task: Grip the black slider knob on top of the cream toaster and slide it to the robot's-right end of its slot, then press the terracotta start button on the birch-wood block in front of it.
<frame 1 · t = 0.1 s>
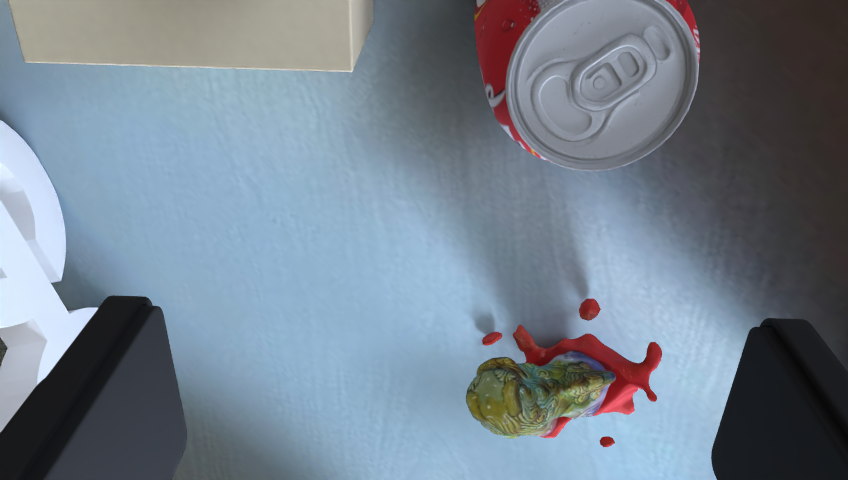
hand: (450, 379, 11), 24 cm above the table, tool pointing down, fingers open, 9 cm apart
letter: (80, 265, 39), on the table
soda can: (549, 5, 31), on the table
figurine: (547, 339, 41), on the table
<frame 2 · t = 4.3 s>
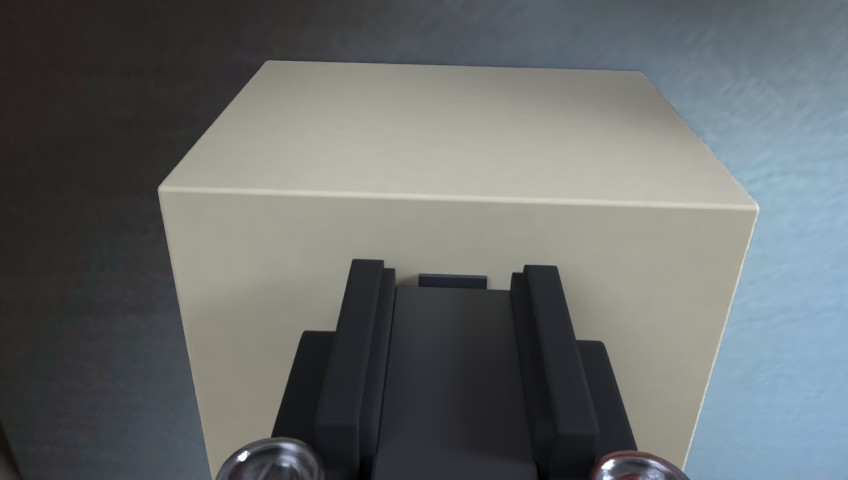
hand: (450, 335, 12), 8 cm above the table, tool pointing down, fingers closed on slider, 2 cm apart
toaster: (445, 258, 21), on the table
slider: (451, 443, 10), point 11 cm above the table, slide at 0.0 cm, touching gripper
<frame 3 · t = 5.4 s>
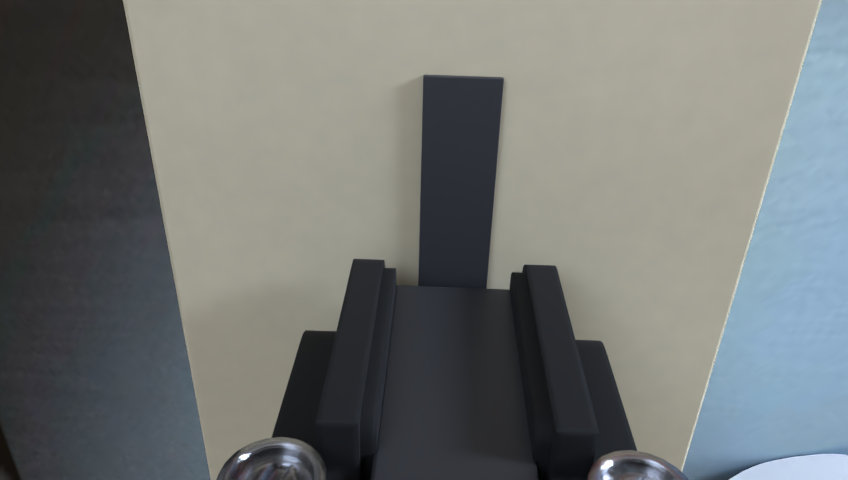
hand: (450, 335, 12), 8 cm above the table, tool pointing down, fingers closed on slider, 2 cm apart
toaster: (449, 151, 20), on the table
slider: (451, 443, 10), point 11 cm above the table, slide at 3.5 cm, touching gripper
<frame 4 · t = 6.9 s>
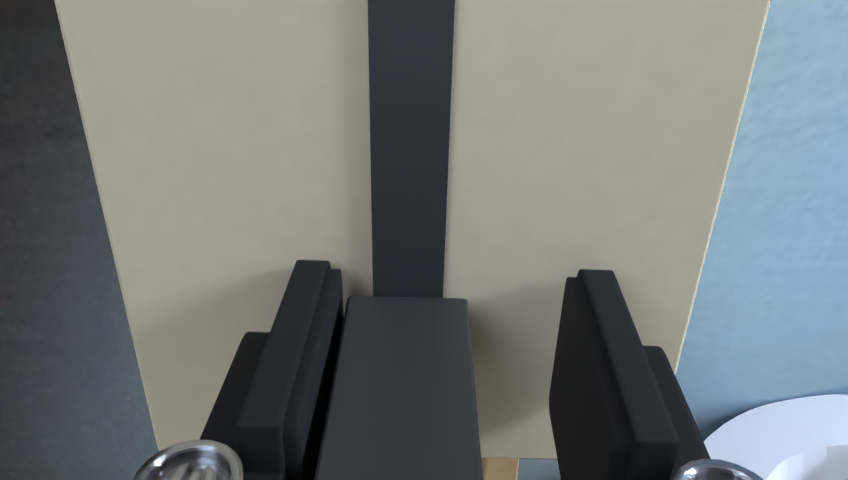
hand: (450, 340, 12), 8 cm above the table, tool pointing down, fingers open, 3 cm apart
toaster: (417, 57, 18), on the table
slider: (401, 458, 10), point 11 cm above the table, slide at 6.3 cm
button block: (382, 383, 23), on the table
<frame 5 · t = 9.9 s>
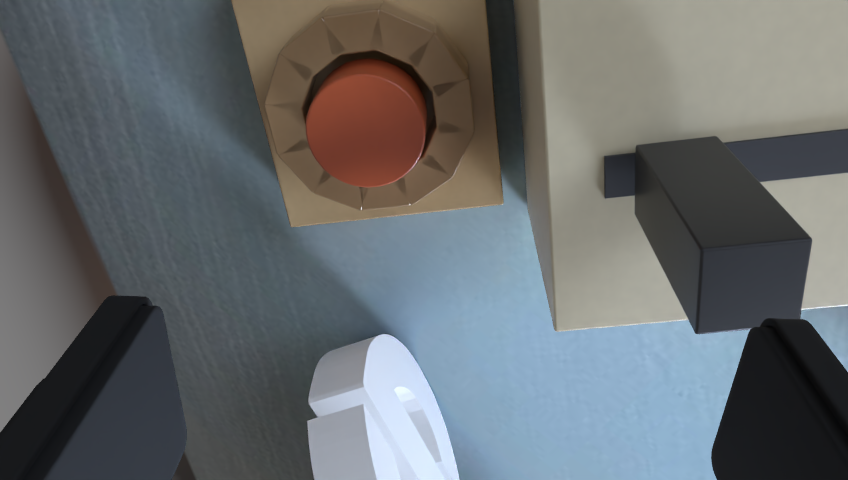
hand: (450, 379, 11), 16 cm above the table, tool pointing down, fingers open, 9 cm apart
toaster: (687, 69, 25), on the table
letter: (447, 460, 35), on the table
start button: (368, 123, 21), point 4 cm above the table, slide at 0.1 cm
slider: (707, 224, 15), point 11 cm above the table, slide at 6.3 cm
button block: (380, 80, 25), on the table
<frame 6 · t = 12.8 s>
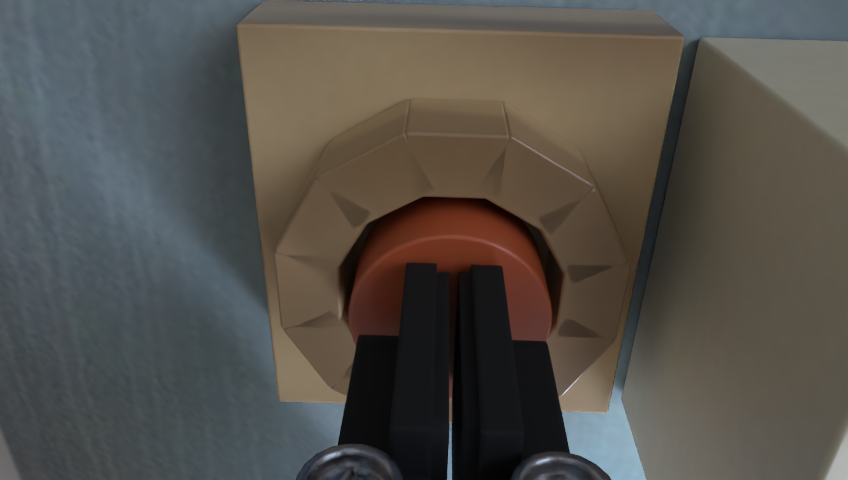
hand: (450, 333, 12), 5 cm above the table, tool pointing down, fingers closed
start button: (449, 296, 13), point 4 cm above the table, slide at -0.4 cm, touching gripper
button block: (449, 201, 16), on the table
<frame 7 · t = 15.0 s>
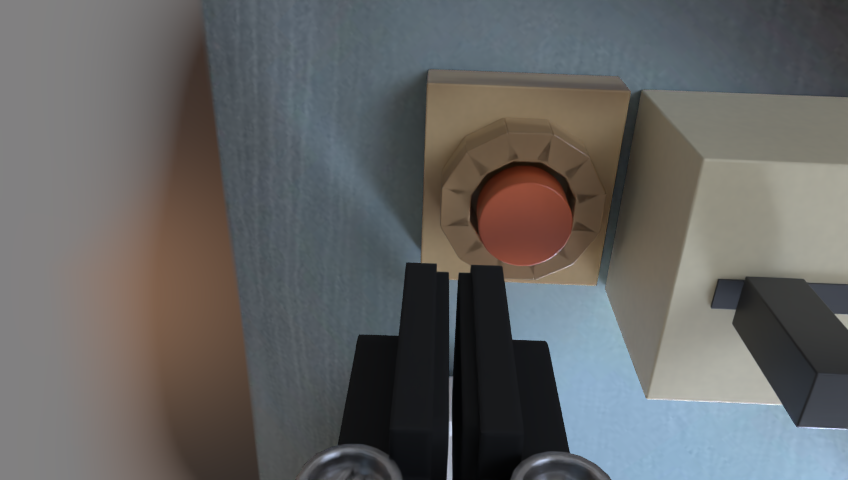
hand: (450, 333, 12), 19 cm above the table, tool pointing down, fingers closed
toaster: (753, 202, 31), on the table
start button: (523, 215, 27), point 4 cm above the table, slide at 0.1 cm
slider: (800, 346, 22), point 11 cm above the table, slide at 6.3 cm
button block: (513, 171, 31), on the table
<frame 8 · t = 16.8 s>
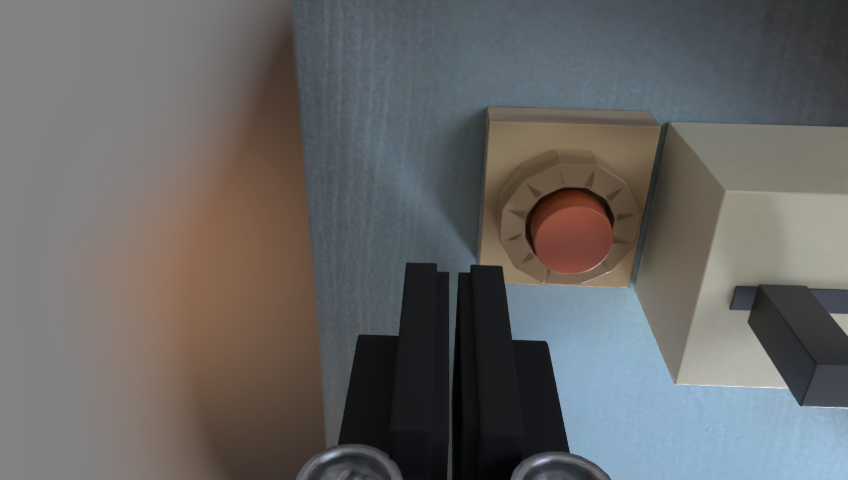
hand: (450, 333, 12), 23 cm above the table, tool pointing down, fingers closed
toaster: (763, 214, 36), on the table
start button: (570, 232, 32), point 4 cm above the table, slide at 0.1 cm
slider: (803, 342, 27), point 11 cm above the table, slide at 6.3 cm
button block: (557, 191, 36), on the table
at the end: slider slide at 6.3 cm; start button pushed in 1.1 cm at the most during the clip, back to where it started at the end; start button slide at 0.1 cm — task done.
